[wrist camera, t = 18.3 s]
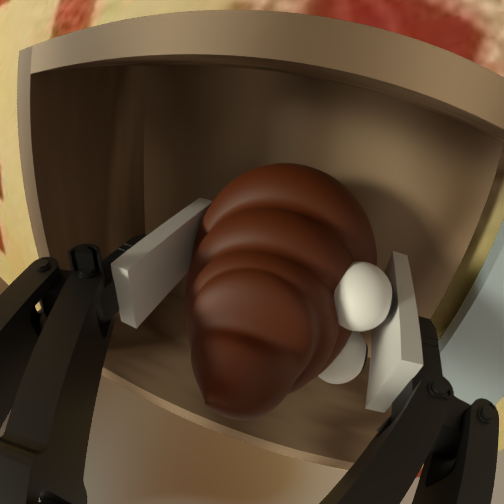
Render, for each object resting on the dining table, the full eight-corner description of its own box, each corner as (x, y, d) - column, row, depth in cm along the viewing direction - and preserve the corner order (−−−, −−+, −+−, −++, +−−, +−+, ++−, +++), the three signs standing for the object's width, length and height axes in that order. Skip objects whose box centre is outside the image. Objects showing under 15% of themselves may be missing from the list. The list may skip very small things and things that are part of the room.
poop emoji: (214, 146, 14) (48, 233, 6) (403, 180, 12) (471, 338, 4) (212, 312, 19) (132, 437, 11) (349, 347, 17) (323, 499, 9)
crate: (145, 285, 24) (74, 357, 17) (144, 48, 15) (19, 51, 7) (393, 365, 20) (384, 475, 13) (501, 119, 10) (611, 158, 3)
